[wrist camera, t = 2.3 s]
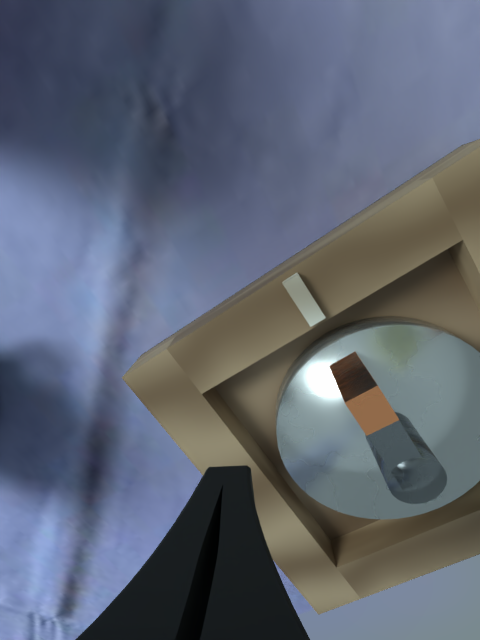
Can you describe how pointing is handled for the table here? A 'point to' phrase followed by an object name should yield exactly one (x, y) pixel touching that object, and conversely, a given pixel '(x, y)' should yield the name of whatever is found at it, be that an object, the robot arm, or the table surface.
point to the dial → (382, 418)
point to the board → (292, 339)
